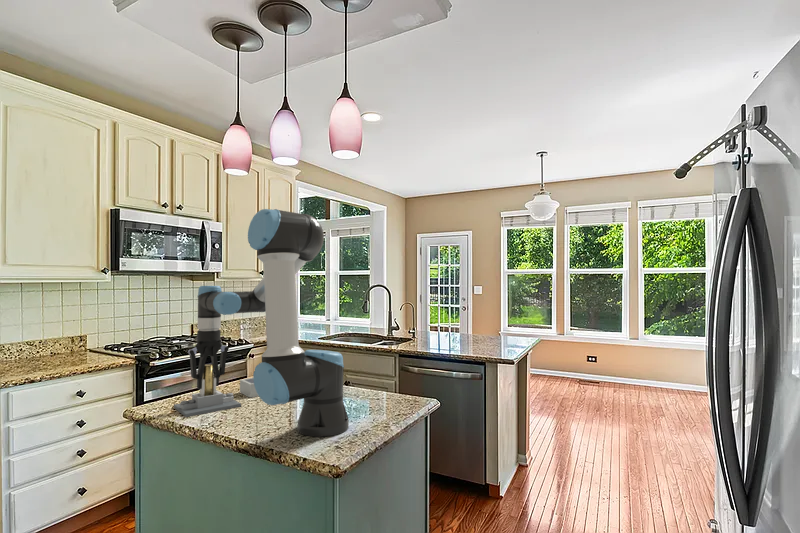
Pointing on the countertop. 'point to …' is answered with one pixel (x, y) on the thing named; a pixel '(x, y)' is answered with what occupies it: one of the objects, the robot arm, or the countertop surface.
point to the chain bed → (206, 404)
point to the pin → (208, 379)
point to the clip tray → (248, 387)
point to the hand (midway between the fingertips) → (207, 396)
